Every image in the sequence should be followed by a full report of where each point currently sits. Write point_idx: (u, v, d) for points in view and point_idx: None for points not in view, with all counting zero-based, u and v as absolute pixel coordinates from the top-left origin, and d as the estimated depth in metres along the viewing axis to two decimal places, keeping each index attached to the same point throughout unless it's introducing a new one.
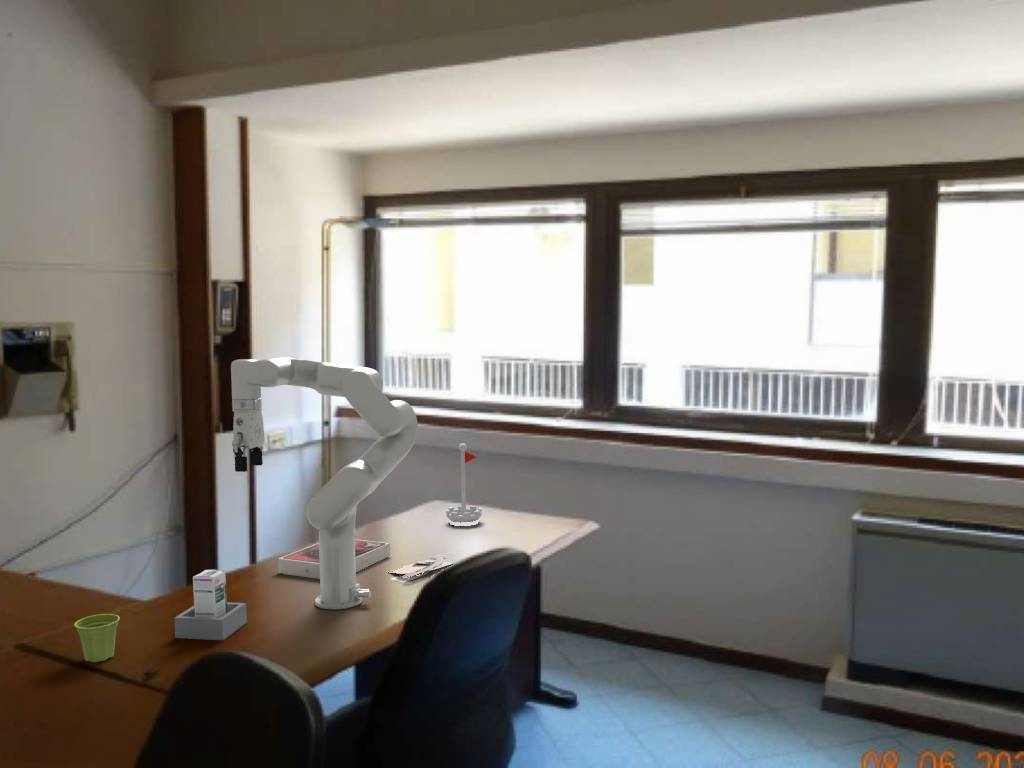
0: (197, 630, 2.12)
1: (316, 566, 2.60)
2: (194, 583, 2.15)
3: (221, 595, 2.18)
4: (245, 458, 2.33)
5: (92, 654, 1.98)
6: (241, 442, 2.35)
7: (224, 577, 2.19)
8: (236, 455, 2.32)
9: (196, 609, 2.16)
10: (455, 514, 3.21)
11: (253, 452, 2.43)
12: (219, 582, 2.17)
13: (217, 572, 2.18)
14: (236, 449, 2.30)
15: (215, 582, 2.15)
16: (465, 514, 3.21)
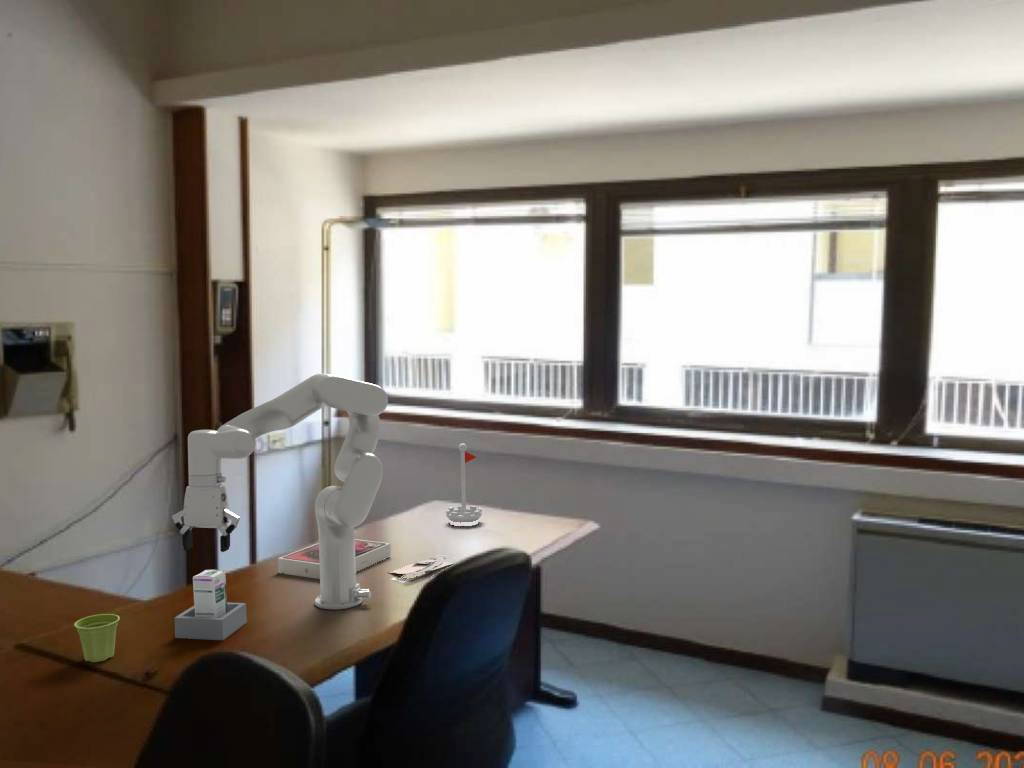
0: (197, 630, 2.12)
1: (315, 566, 2.61)
2: (194, 583, 2.15)
3: (221, 595, 2.18)
4: None
5: (92, 654, 1.98)
6: None
7: (224, 577, 2.19)
8: (229, 533, 2.15)
9: (196, 609, 2.16)
10: (455, 514, 3.21)
11: (187, 535, 2.17)
12: (219, 582, 2.17)
13: (217, 572, 2.18)
14: (236, 525, 2.15)
15: (215, 582, 2.15)
16: (465, 514, 3.21)
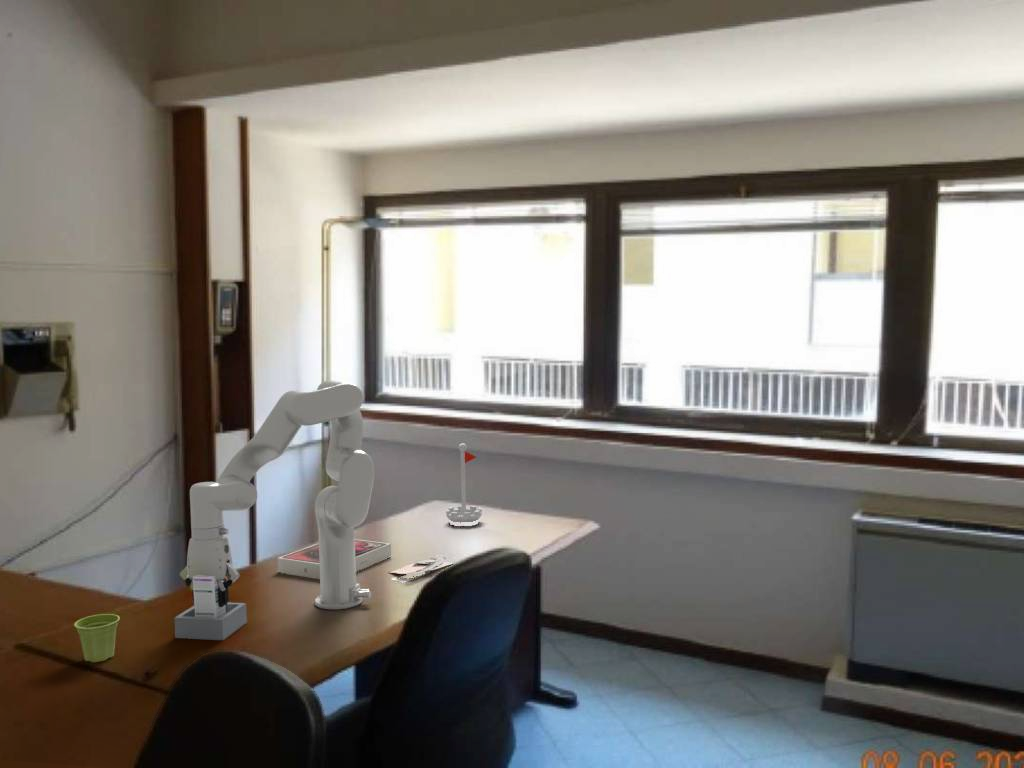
0: (197, 630, 2.12)
1: (314, 566, 2.61)
2: (194, 583, 2.15)
3: None
4: None
5: (92, 654, 1.98)
6: None
7: None
8: (227, 588, 2.16)
9: (196, 609, 2.16)
10: (455, 514, 3.21)
11: None
12: None
13: None
14: None
15: (215, 582, 2.15)
16: (465, 514, 3.21)
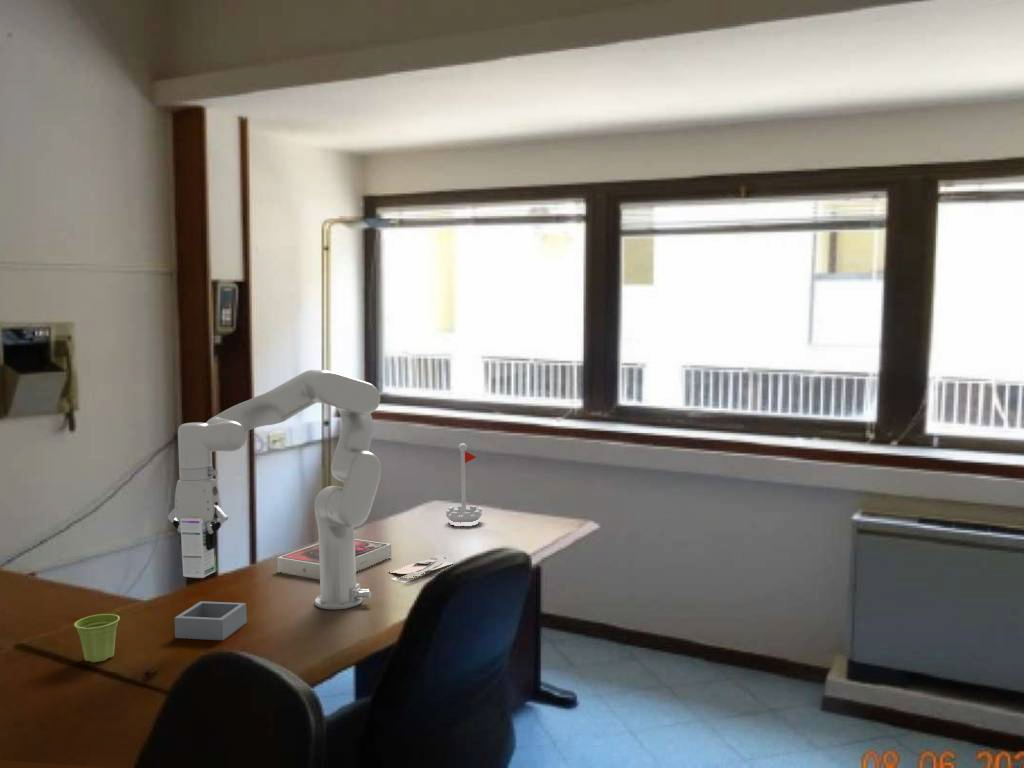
0: (197, 630, 2.12)
1: (313, 566, 2.61)
2: (181, 525, 2.10)
3: None
4: None
5: (92, 654, 1.98)
6: None
7: None
8: (215, 531, 2.11)
9: (183, 552, 2.11)
10: (455, 514, 3.21)
11: None
12: None
13: None
14: None
15: (202, 524, 2.10)
16: (465, 514, 3.21)
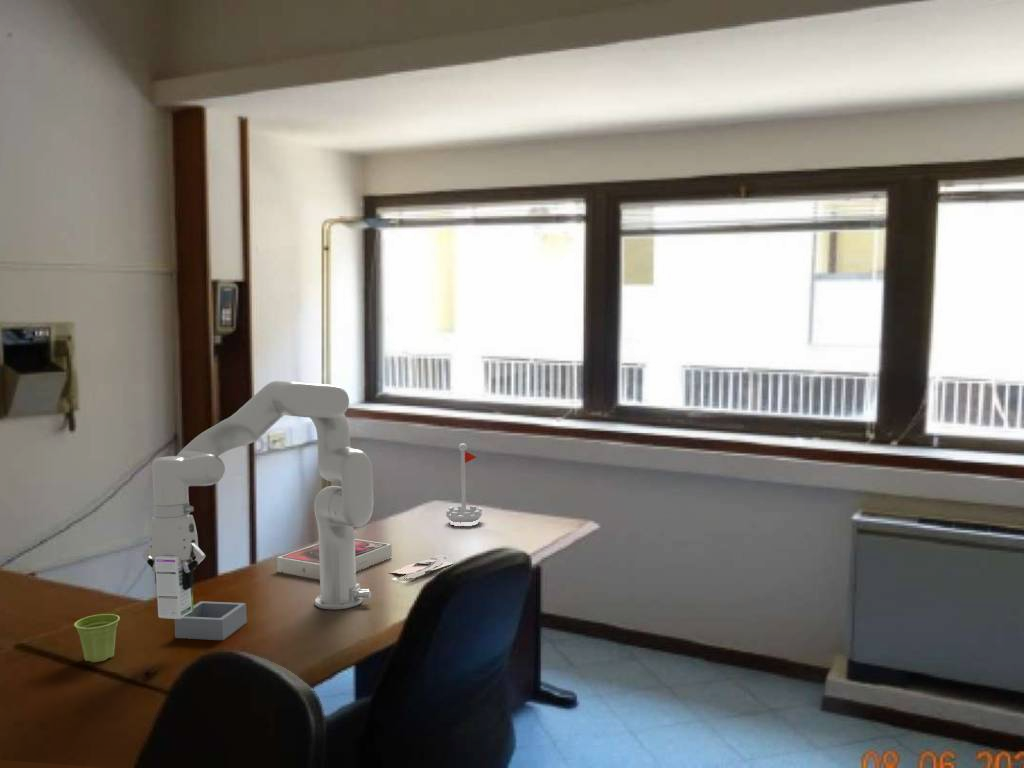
0: (197, 630, 2.12)
1: (312, 566, 2.61)
2: (156, 564, 2.01)
3: None
4: None
5: (92, 654, 1.98)
6: None
7: None
8: (191, 570, 2.02)
9: (158, 592, 2.01)
10: (455, 514, 3.21)
11: None
12: None
13: None
14: None
15: (178, 563, 2.01)
16: (465, 514, 3.21)
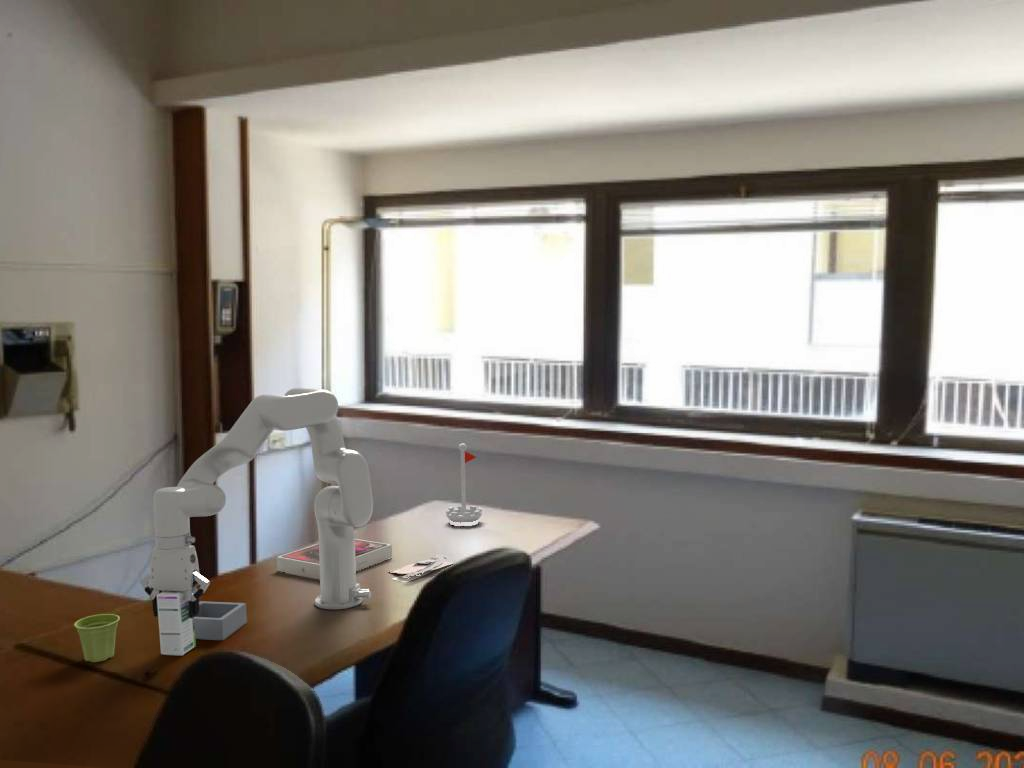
0: (197, 630, 2.12)
1: (311, 566, 2.61)
2: (158, 601, 2.02)
3: (188, 613, 2.04)
4: None
5: (92, 654, 1.98)
6: None
7: None
8: (197, 598, 2.02)
9: (161, 629, 2.02)
10: (455, 514, 3.21)
11: None
12: (185, 600, 2.04)
13: None
14: (205, 589, 2.03)
15: (180, 600, 2.02)
16: (465, 514, 3.21)
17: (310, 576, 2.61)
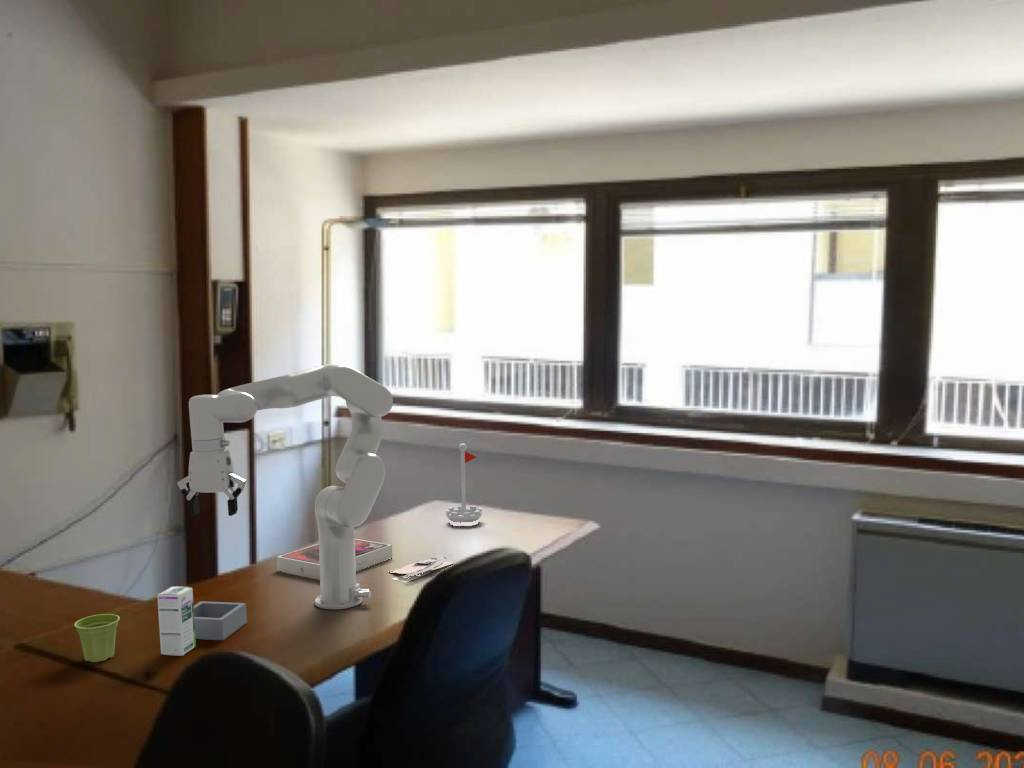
0: (197, 630, 2.12)
1: (310, 565, 2.61)
2: (158, 602, 2.02)
3: (188, 614, 2.04)
4: None
5: (92, 654, 1.98)
6: None
7: (191, 594, 2.06)
8: (236, 496, 2.14)
9: (161, 629, 2.02)
10: (455, 514, 3.21)
11: (194, 501, 2.16)
12: (186, 600, 2.04)
13: (184, 589, 2.04)
14: (242, 488, 2.15)
15: (181, 600, 2.02)
16: (465, 514, 3.21)
17: (309, 576, 2.62)
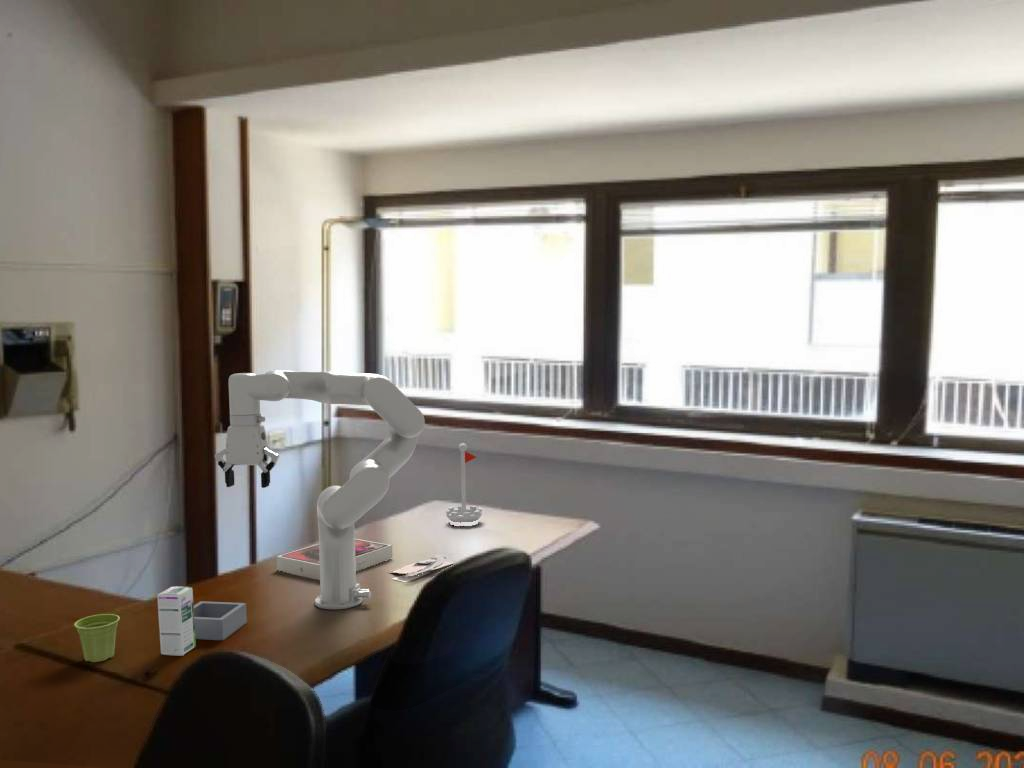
0: (197, 630, 2.12)
1: (309, 565, 2.61)
2: (158, 602, 2.02)
3: (188, 614, 2.04)
4: None
5: (92, 654, 1.98)
6: None
7: (191, 594, 2.06)
8: (269, 470, 2.27)
9: (161, 629, 2.02)
10: (455, 514, 3.21)
11: (230, 473, 2.29)
12: (186, 600, 2.04)
13: (184, 589, 2.04)
14: (275, 462, 2.28)
15: (181, 600, 2.02)
16: (465, 514, 3.21)
17: (308, 576, 2.62)
